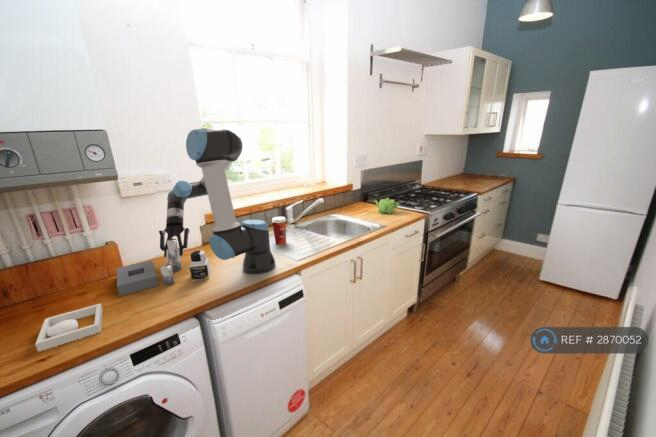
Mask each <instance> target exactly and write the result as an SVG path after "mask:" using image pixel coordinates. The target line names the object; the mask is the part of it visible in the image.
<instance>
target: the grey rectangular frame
mask: <svg viewBox="0 0 656 437" xmlns="http://www.w3.org/2000/svg"><path fill="white" fill-rule="evenodd" d="M103 311H104V310H103V307H102V303H97V304H93V305H91V306H90V305H89V306H86V307H82V308H80V309H75V310H72V311H68V312H64V313H62V314H56V315H53V316H49V317H47V318H45V319H44V321H43V324H42V326H41V329H40V331H39V334H38V336H37V339H36V342H35V348H36V349H37V352H38V353H40V352H39V351H41V352H43V351H42V350H44V351H47V350H50V349H53V348H56V347H59V346H58V345H60V346H63V345H65V343H66V344H68V342H69V343H72V342H75V341H78V340H82V339H84V338H83V337H85V338H87V337H86V336H88V337H90V336H89V335H91V336H94V335H96V333H97V334H100V333H102V326H103V324H102V323H103V313H104V312H103ZM93 315H94V316H95V317H94V322H93V323H94V324H90V325H87V326H83V327H80V328H77V330H73V331H70V332H67V333H64V334H60V335H57V336H54V337H49V336H47V335H46V333H47V330H48V328H50V327H52V326H53V325H55V324H57V323H59V322H61V321H65V320H71V319H74V320H79V319H83V318H86V317H89V316H90V317H91V316H93ZM99 332H100V333H99ZM93 334H94V335H93ZM77 339H78V340H77ZM74 340H75V341H74ZM71 341H72V342H71ZM62 344H63V345H62ZM52 347H53V348H52ZM49 348H50V349H49ZM46 349H47V350H46Z"/></svg>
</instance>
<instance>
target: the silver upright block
mask: <svg viewBox="0 0 656 437" xmlns="http://www.w3.org/2000/svg"><path fill="white" fill-rule="evenodd" d="M160 272H161V277H162V282H163V286H166V287H167V286H171V285H173V284H174V283H175V279H174V274H173V270H172V266H171V264H169V265H168V264H165V265H162V266H160Z"/></svg>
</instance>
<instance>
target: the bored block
mask: <svg viewBox="0 0 656 437" xmlns="http://www.w3.org/2000/svg"><path fill="white" fill-rule="evenodd" d="M116 286H117V292H118V295H119V296H120V297H121V296H124V295H128V294H132V293H135V292H139V291H143V290H146V289H150V288H155V287H157V286H159V281H158V277H157V273H156V269H155V266H154V262H153V259H151V260H148V261H144V262H143V261H142V262H139V263H138V262H137V263H135V264H129V265H126V266H121V267H117V268H116Z"/></svg>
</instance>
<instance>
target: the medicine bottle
mask: <svg viewBox="0 0 656 437" xmlns="http://www.w3.org/2000/svg"><path fill="white" fill-rule="evenodd" d="M189 255H190V260H191V262H190V264H189V265H190V266H189V271H190V278H191V281H192V282H196V281H203V280H210V276H211V265H210V259H209V258H208V257H207V256H206V252H205V251H204V250H196V251H193V252H191V253H190V254H189Z"/></svg>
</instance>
